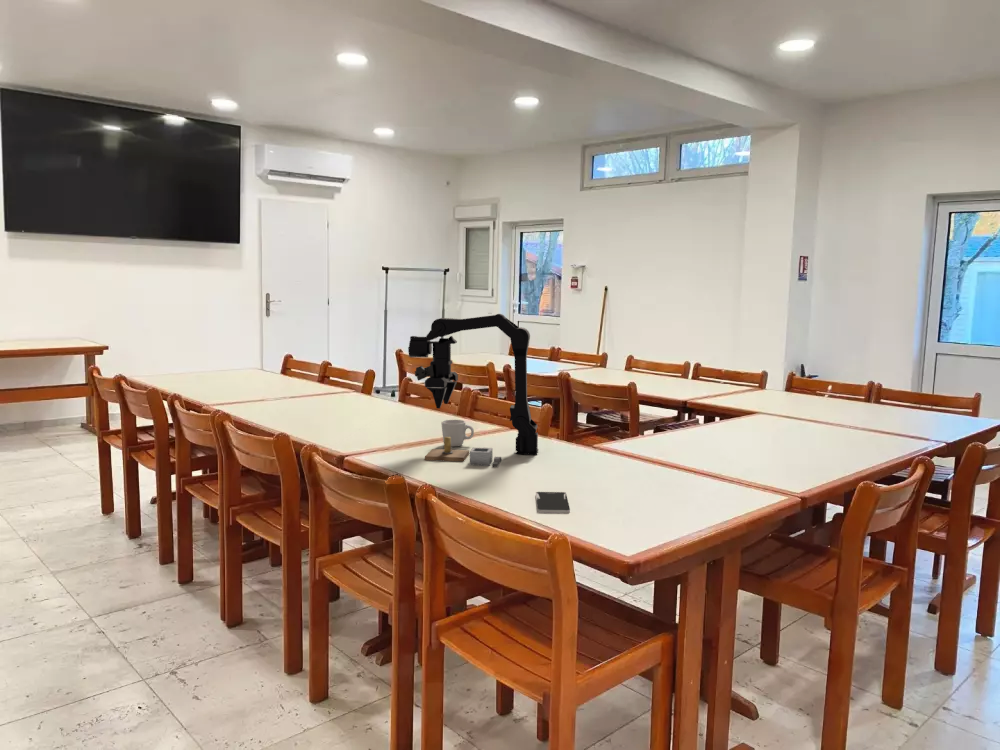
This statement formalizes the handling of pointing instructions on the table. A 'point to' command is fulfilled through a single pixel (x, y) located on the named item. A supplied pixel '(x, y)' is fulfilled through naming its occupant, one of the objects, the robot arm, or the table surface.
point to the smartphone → (552, 502)
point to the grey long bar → (496, 461)
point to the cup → (456, 431)
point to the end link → (481, 456)
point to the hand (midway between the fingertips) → (442, 406)
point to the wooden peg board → (447, 453)
